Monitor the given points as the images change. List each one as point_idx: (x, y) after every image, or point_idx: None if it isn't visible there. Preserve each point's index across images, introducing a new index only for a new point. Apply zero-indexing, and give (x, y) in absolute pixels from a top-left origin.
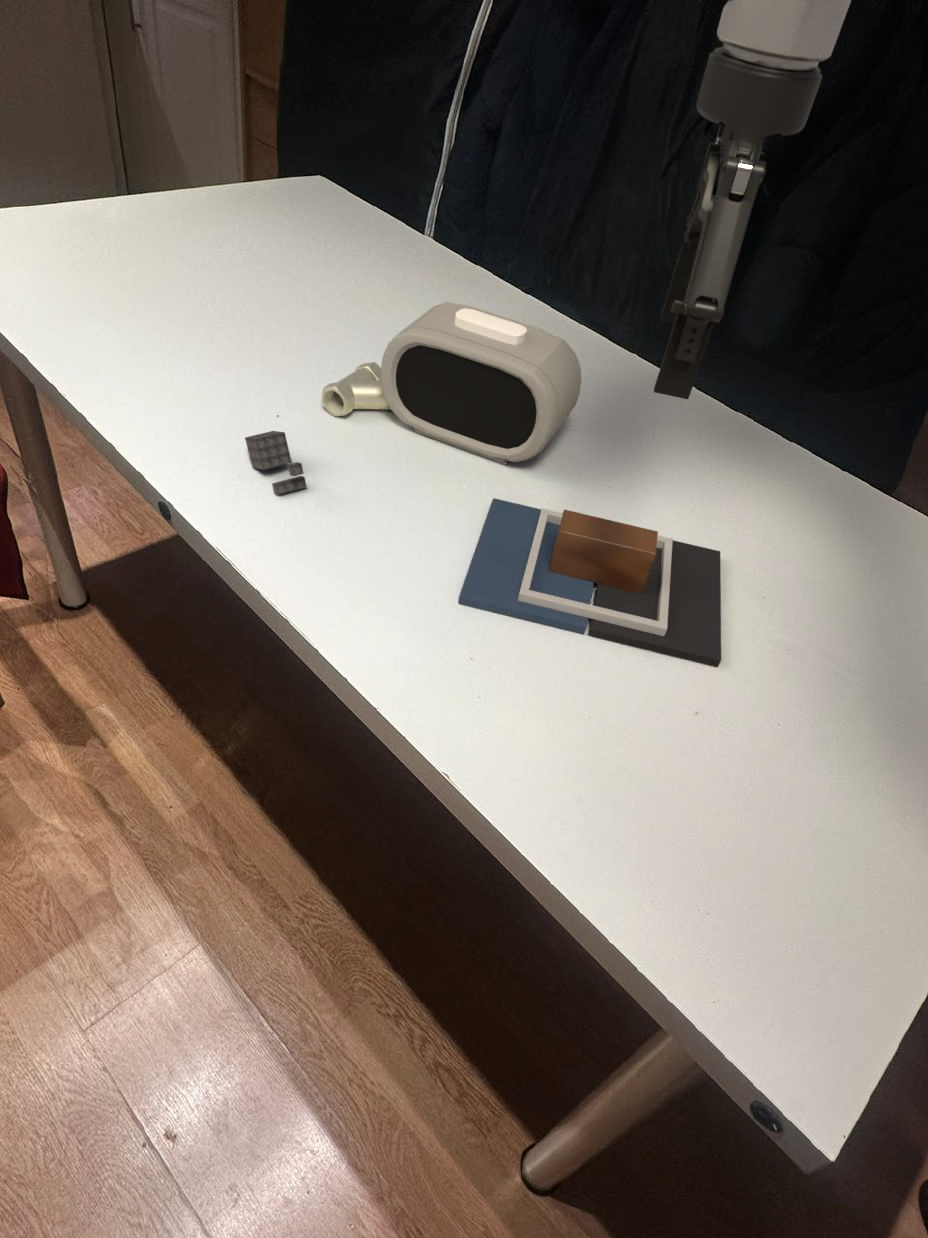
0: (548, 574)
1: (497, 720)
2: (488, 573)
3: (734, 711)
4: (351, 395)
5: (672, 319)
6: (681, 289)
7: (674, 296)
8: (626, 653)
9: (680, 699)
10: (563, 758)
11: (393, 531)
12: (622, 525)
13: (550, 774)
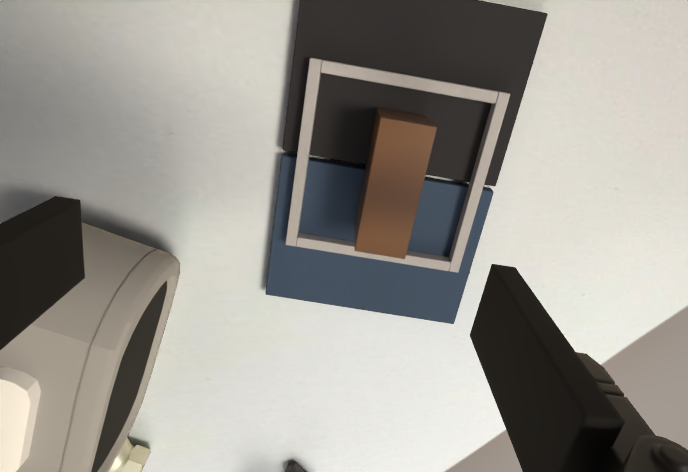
0: None
1: (613, 277)
2: (412, 297)
3: (618, 3)
4: (131, 463)
5: (77, 255)
6: (17, 299)
7: (36, 299)
8: (518, 138)
9: (594, 77)
10: (667, 217)
11: (343, 381)
12: (376, 171)
13: (685, 230)
